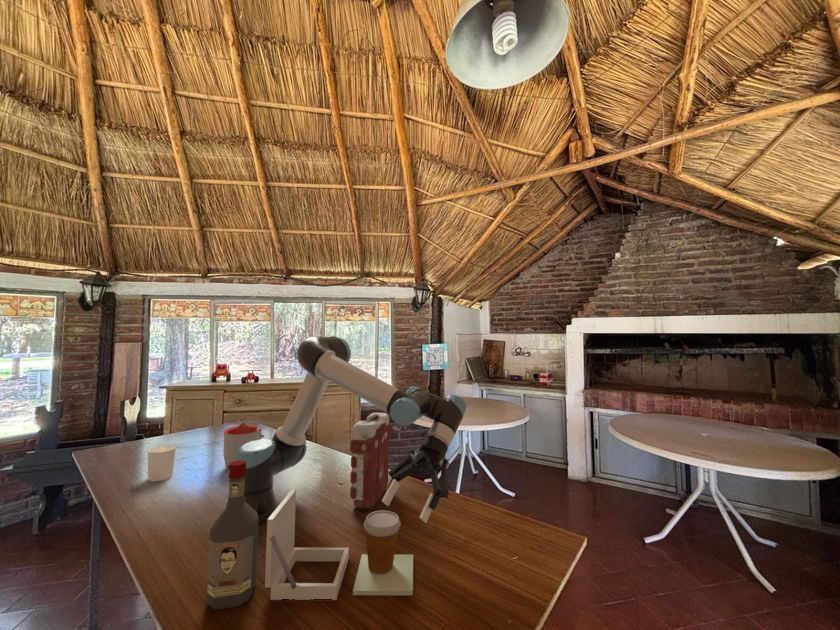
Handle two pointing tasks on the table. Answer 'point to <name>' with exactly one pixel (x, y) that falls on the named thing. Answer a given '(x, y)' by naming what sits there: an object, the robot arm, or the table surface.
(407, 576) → the board
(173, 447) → the candle holder
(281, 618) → the table surface
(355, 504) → the first aid kit
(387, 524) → the disposable coffee cup
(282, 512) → the access hatch
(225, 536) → the liquor
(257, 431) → the citrus juicer
